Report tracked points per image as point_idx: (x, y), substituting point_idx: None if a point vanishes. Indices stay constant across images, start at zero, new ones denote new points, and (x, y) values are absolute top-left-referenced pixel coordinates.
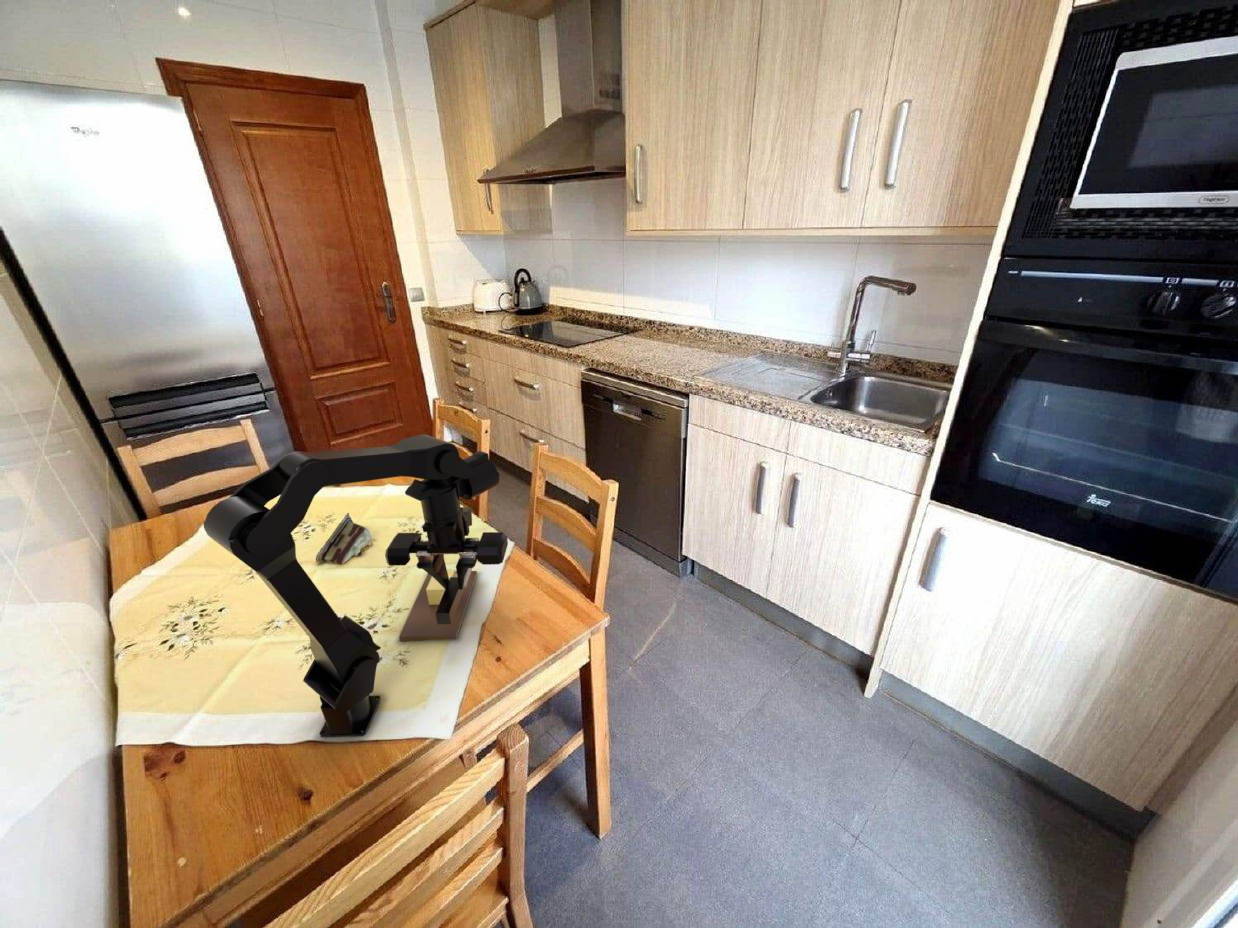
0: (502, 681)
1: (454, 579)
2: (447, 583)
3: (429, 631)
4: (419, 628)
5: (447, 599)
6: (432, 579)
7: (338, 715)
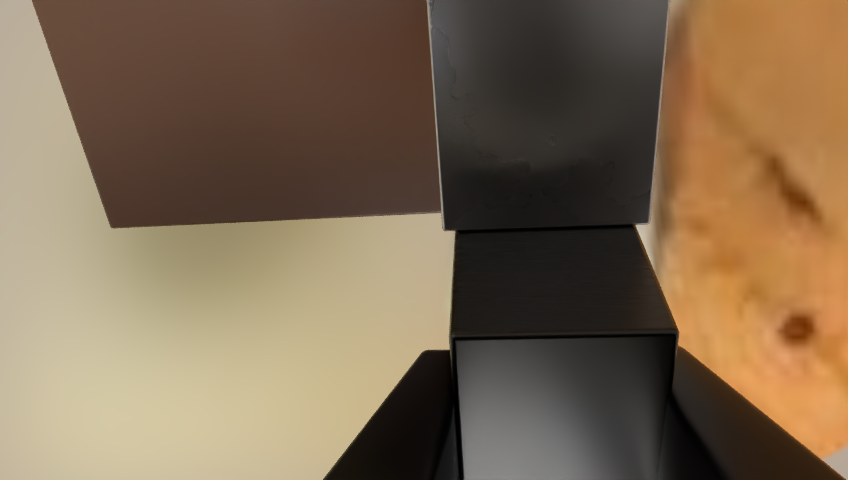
0: (820, 450)
1: (543, 392)
2: (458, 470)
3: (292, 180)
4: (206, 155)
5: None
6: None
7: None
